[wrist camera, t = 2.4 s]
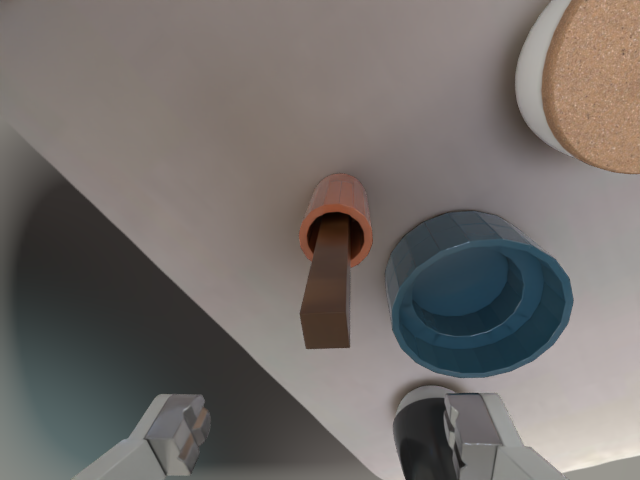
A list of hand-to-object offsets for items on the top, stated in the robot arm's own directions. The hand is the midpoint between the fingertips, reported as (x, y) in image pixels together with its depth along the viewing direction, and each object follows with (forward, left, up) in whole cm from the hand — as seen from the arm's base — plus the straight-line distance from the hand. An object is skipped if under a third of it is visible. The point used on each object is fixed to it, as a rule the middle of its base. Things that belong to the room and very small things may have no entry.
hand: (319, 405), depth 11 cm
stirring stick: (0, 0, -22) cm, 22 cm away
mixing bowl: (+11, -9, -22) cm, 26 cm away
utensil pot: (0, 0, -22) cm, 22 cm away
